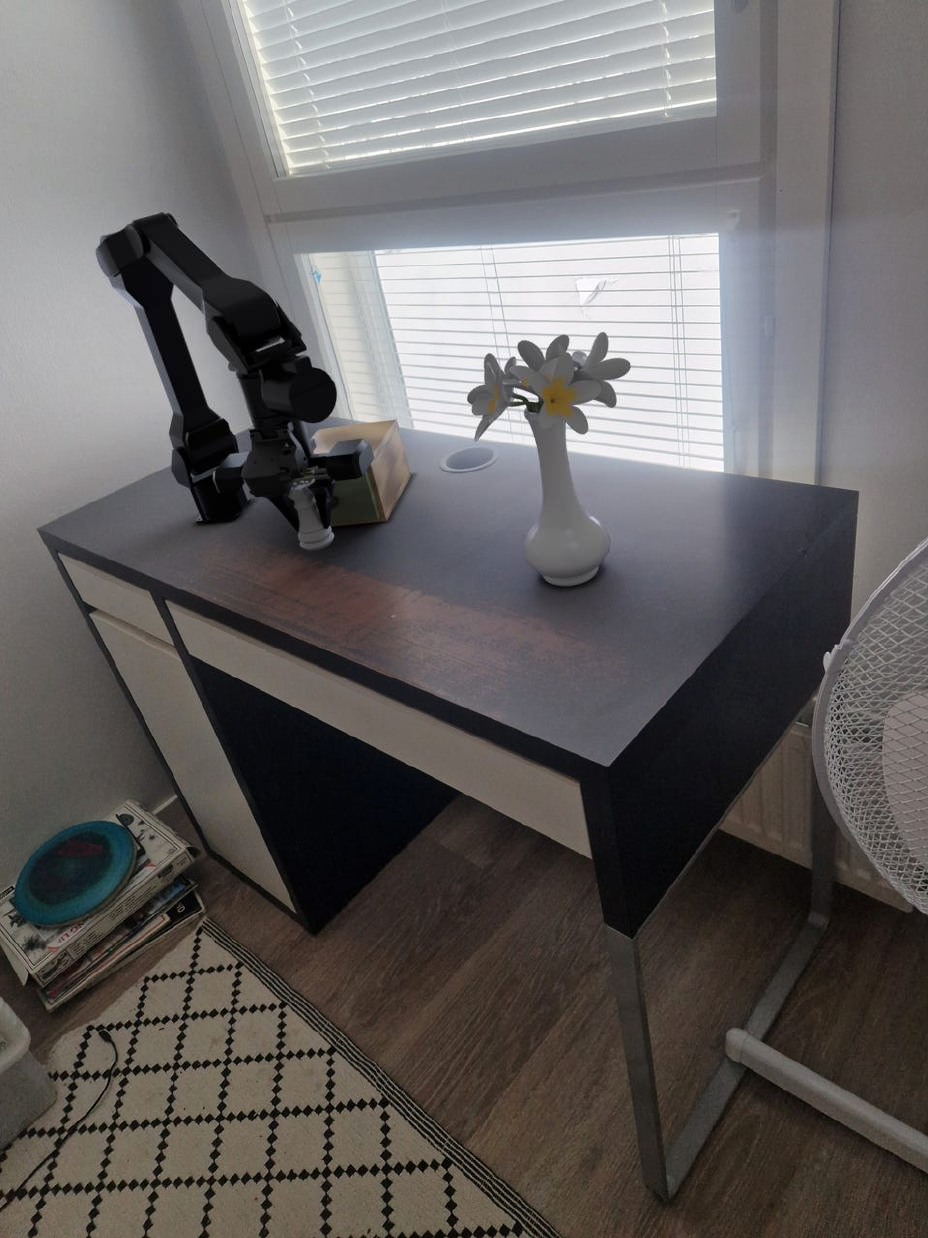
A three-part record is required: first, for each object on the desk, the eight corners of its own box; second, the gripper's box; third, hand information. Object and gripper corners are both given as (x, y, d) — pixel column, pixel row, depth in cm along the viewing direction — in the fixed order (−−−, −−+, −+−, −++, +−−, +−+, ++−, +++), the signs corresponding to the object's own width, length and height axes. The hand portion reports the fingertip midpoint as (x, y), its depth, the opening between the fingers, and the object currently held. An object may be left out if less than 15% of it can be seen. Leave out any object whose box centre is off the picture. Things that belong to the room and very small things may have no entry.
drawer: (376, 524, 111) (362, 475, 108) (300, 531, 114) (283, 484, 111) (402, 477, 123) (390, 431, 119) (332, 484, 126) (318, 440, 122)
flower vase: (659, 535, 96) (640, 310, 83) (585, 624, 85) (549, 379, 71) (558, 523, 104) (526, 314, 90) (477, 603, 92) (426, 378, 78)
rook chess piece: (307, 555, 104) (287, 497, 100) (296, 543, 108) (276, 486, 104) (340, 542, 106) (322, 484, 101) (328, 530, 109) (310, 473, 105)
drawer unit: (386, 521, 114) (369, 460, 109) (303, 529, 117) (284, 470, 112) (411, 475, 125) (397, 418, 120) (335, 484, 128) (318, 429, 123)
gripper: (170, 446, 93) (219, 568, 102) (327, 427, 89) (365, 556, 97) (213, 408, 102) (255, 523, 111) (357, 389, 97) (390, 510, 106)
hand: (313, 528), depth 106 cm, fingers closed on rook chess piece, 3 cm apart
